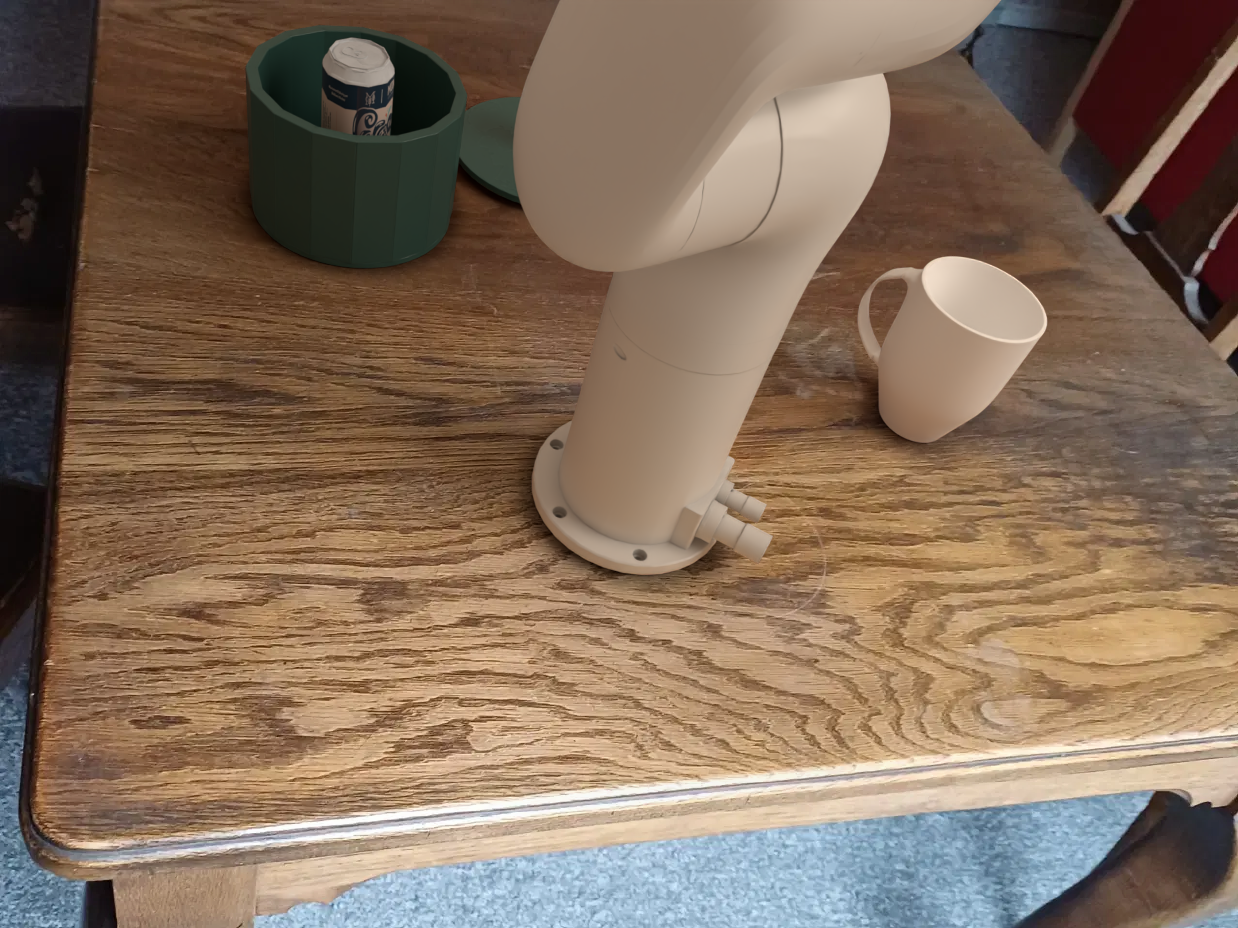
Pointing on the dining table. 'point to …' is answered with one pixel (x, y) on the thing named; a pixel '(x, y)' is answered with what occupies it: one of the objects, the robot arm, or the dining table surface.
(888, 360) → the mug
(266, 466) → the dining table surface
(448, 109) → the tin
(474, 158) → the tin lid
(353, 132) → the beer can
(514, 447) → the dining table surface
